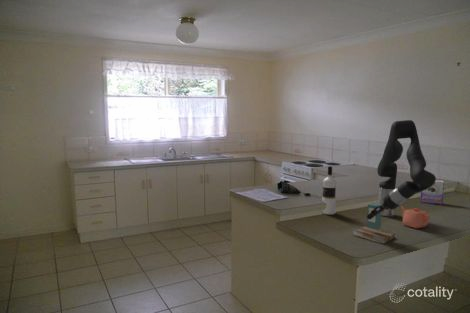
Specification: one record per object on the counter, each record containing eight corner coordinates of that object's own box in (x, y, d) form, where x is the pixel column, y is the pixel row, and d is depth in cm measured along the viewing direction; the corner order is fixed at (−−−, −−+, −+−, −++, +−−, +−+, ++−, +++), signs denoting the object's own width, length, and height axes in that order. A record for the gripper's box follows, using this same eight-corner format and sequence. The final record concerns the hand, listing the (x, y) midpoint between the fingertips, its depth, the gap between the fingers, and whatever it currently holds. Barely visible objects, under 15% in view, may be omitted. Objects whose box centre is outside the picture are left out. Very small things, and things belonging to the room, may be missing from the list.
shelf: (364, 229, 188) (365, 224, 187) (394, 237, 176) (394, 231, 175) (352, 235, 179) (353, 229, 178) (383, 243, 167) (383, 237, 167)
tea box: (371, 225, 180) (372, 202, 178) (380, 227, 176) (382, 204, 175) (366, 227, 176) (367, 204, 175) (376, 229, 173) (377, 206, 171)
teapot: (422, 231, 185) (424, 213, 184) (392, 222, 200) (394, 205, 199) (435, 228, 190) (436, 210, 189) (405, 219, 206) (406, 202, 205)
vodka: (334, 215, 213) (336, 168, 209) (319, 214, 217) (321, 167, 213) (336, 212, 221) (338, 166, 217) (322, 210, 225) (323, 165, 221)
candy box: (442, 203, 245) (444, 180, 243) (442, 205, 240) (444, 182, 238) (420, 200, 252) (422, 178, 250) (420, 202, 247) (421, 179, 245)
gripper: (396, 189, 173) (372, 208, 183) (384, 194, 164) (359, 213, 174) (407, 202, 170) (381, 220, 180) (394, 207, 160) (368, 226, 171)
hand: (370, 216), depth 177 cm, fingers closed on tea box, 5 cm apart
